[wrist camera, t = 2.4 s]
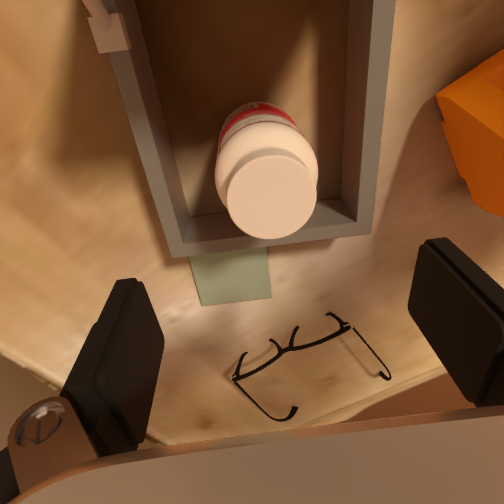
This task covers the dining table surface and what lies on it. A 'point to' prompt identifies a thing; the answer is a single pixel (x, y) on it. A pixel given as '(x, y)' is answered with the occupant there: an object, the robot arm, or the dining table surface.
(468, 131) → the bracket
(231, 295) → the mat
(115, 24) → the case
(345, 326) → the eyeglasses
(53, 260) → the dining table surface
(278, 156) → the pill bottle
